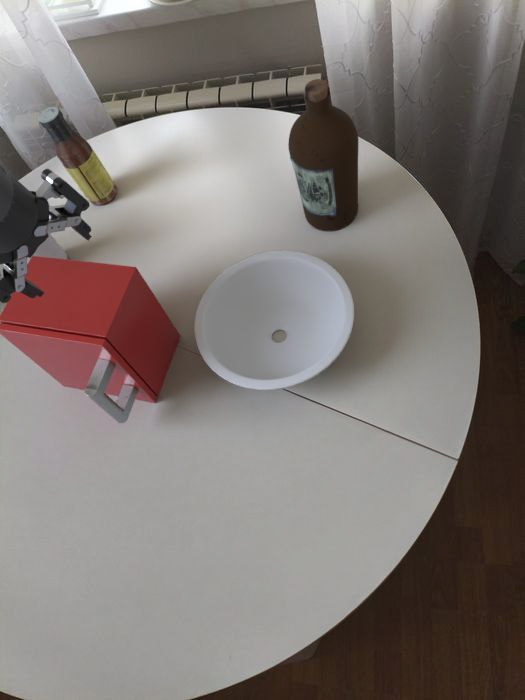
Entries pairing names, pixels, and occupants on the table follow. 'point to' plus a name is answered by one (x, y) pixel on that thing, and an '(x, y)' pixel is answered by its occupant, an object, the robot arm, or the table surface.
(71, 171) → the sauce bottle
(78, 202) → the robot arm
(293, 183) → the table surface
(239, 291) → the white sink basin
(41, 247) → the travel mug
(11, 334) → the red cabinet door
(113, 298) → the cabinet
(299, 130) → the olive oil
